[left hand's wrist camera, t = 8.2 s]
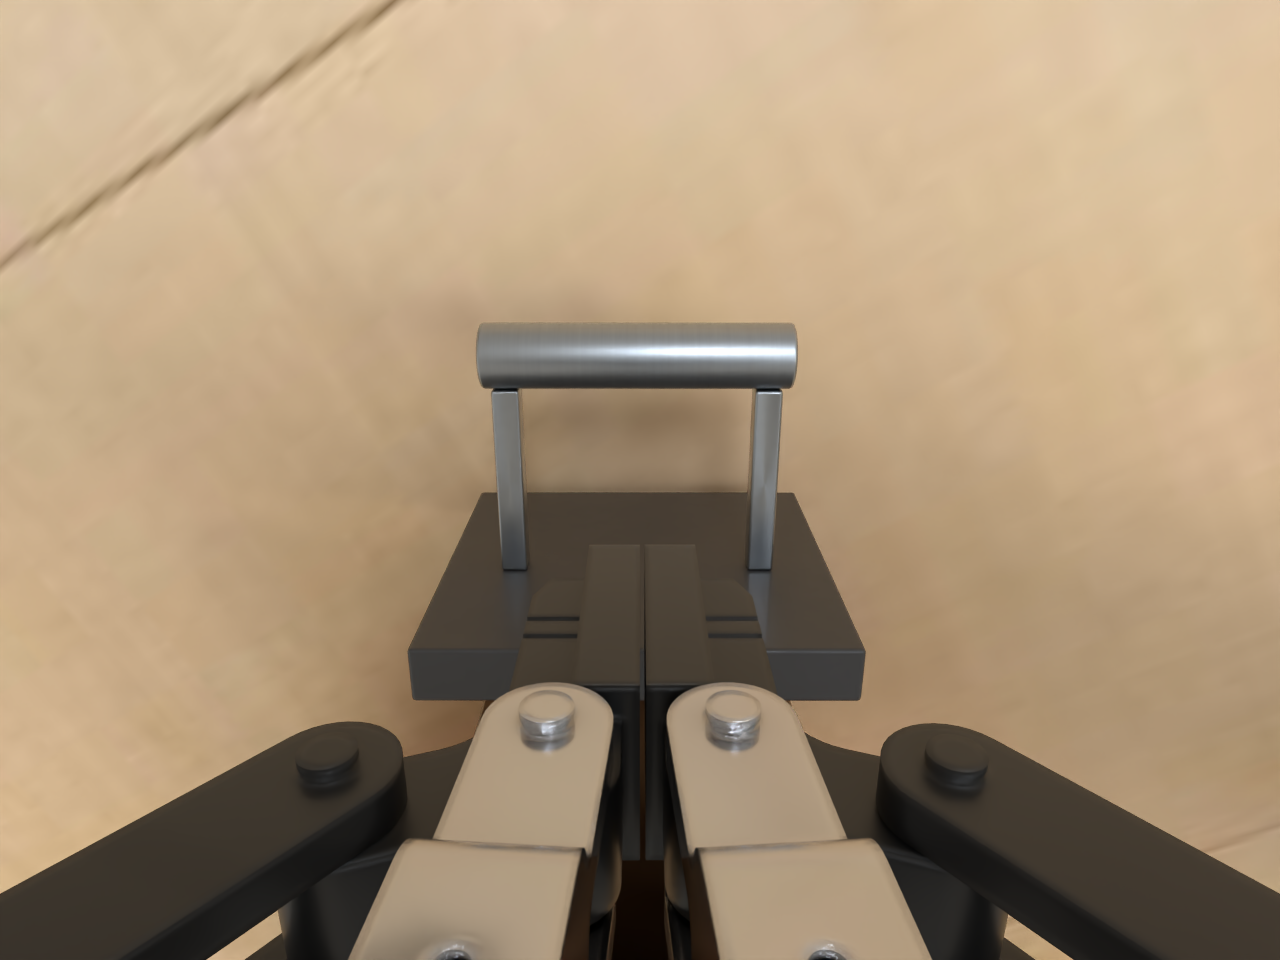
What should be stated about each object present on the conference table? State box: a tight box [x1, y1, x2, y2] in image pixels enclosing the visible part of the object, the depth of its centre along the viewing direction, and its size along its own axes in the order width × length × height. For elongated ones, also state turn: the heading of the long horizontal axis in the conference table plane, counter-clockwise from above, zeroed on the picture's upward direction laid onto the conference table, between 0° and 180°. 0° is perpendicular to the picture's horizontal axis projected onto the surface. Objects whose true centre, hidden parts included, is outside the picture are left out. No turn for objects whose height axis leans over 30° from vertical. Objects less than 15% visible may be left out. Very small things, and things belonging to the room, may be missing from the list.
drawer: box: [408, 323, 866, 960], centre depth 23 cm, size 24×9×9 cm, turn 0°
